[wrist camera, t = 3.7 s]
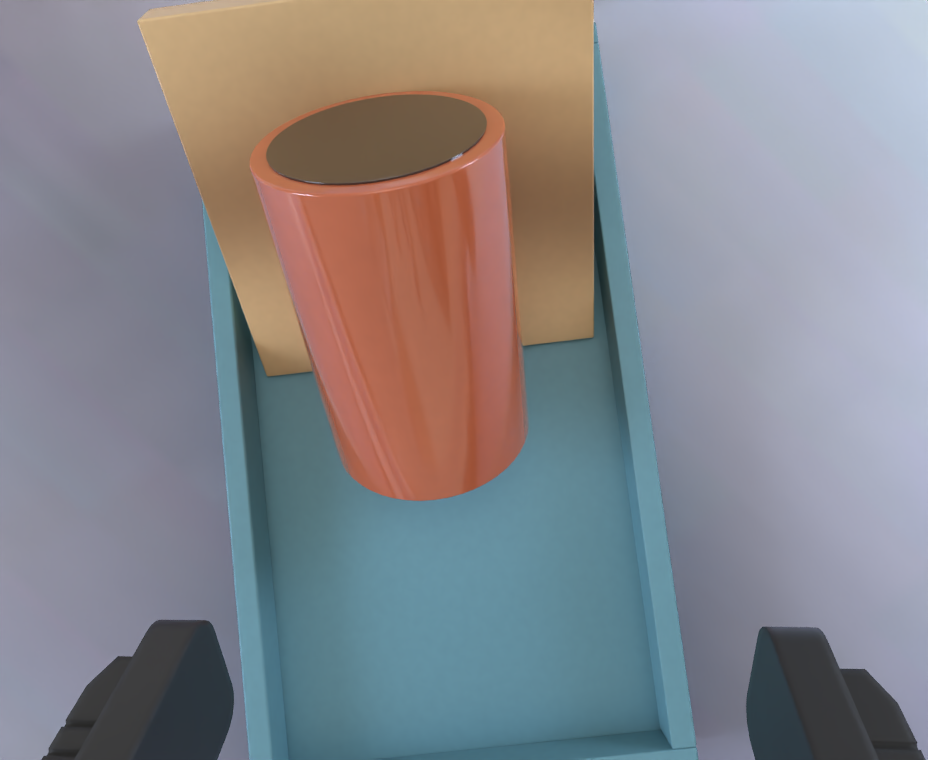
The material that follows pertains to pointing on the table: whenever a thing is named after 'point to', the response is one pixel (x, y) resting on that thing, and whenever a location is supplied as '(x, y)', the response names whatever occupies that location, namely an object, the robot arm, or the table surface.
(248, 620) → the tray
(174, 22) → the wooden stand
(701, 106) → the table surface
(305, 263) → the orange cylinder
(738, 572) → the table surface
